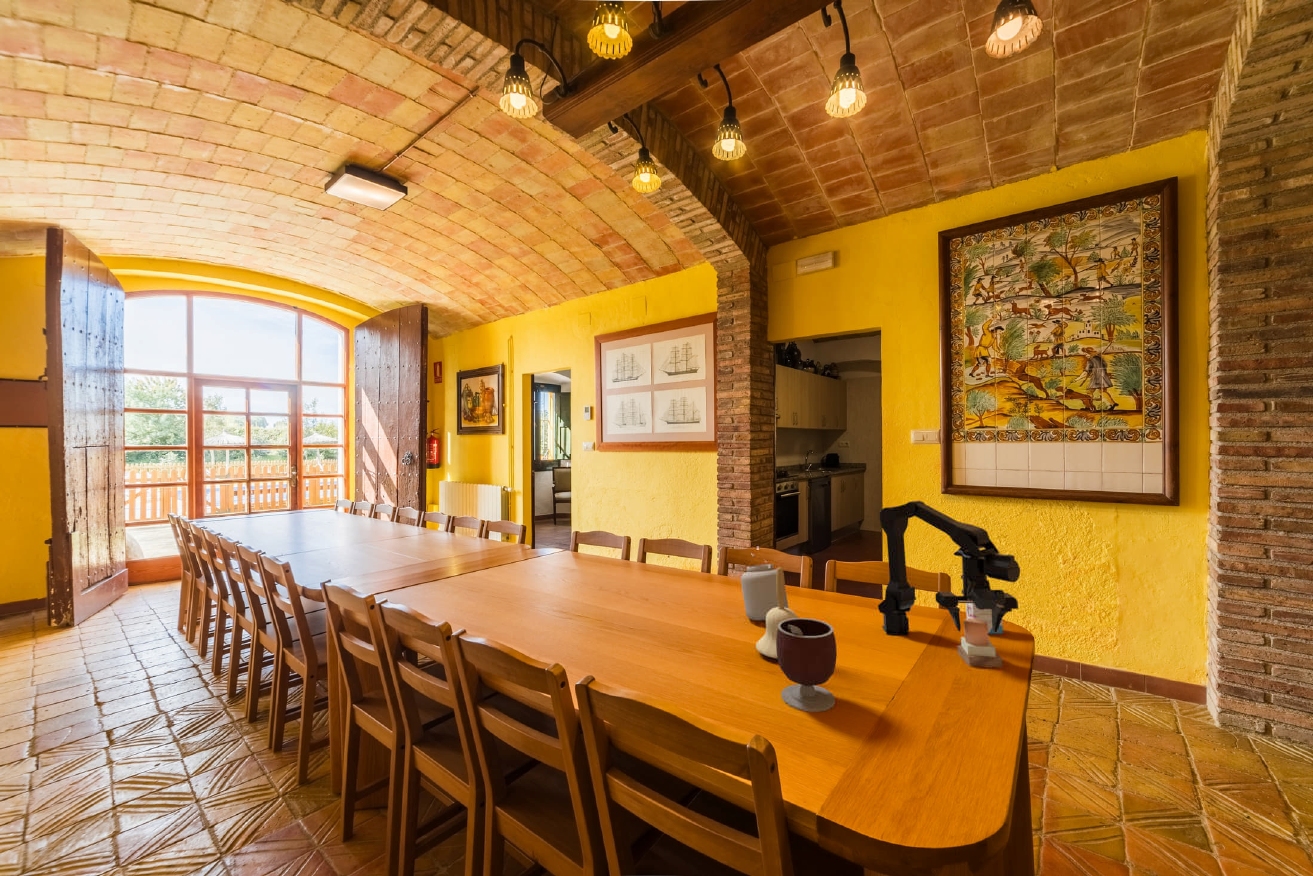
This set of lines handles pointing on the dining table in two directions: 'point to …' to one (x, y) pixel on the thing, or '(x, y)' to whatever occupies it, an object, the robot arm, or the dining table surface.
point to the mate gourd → (806, 662)
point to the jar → (760, 591)
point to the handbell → (775, 619)
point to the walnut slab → (980, 659)
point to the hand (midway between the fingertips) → (976, 631)
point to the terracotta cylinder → (976, 632)
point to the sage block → (978, 649)
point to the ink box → (982, 617)
